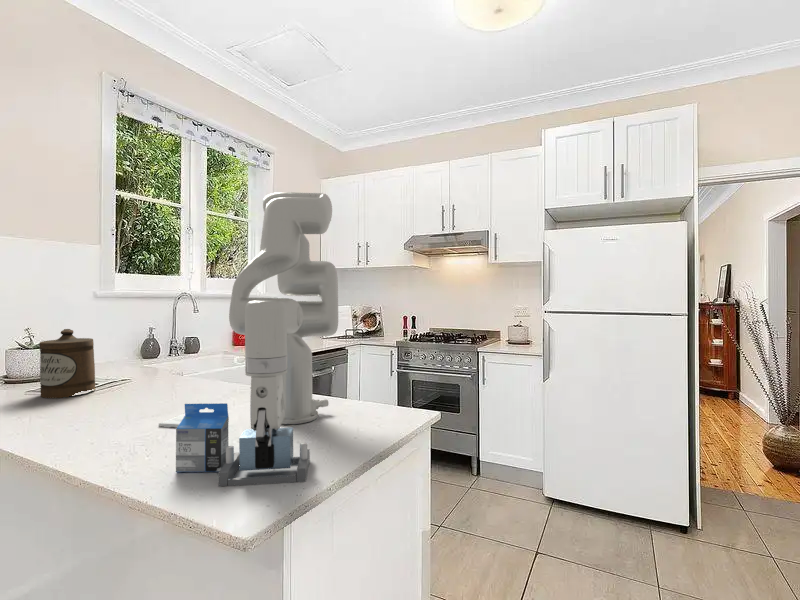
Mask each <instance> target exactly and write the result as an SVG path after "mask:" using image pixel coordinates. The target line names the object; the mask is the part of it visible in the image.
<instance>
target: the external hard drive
mask: <svg viewBox="0 0 800 600" xmlns="http://www.w3.org/2000/svg"><path fill="white" fill-rule="evenodd" d="M199 412H214V410H203V409H201V410H199ZM184 416H185V412H184V413H181V414H179V415H177V416H175V417H171V418H170V419H167V420H164V421H162V422H160V423H158V427H159V426H164V427H163V428H169V427H170V428H174V427H178V425H179V424H180V423H181V421H182V419H183V418H184Z"/></svg>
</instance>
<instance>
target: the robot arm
mask: <svg viewBox="0 0 800 600" xmlns="http://www.w3.org/2000/svg"><path fill="white" fill-rule="evenodd" d="M262 208H263V221H262V229H261V239H260V246H259V247H260V249H259V253H258V254H257V255H256V256H255V257H254V258H252V260H250V261H249V262H248V263H247V264H246V265H245V266H244V267H243V269H242V270H241V271H240V272H239V273H238V275H237V277H236V278H235V280H234V282H233V285H232V290H231V295H230V301H229V302H230V303H229V311H228V312H229V313H228V319H229V320H228V321H229V326H230V328H231V330H232V331H233V332H235V333H236V334H238V335H240V336H241V335H243V336H244V348H245V350H244V351H245V352H244V354H245V355H244V362H245V363H244V365H245V366H244V367H245V369H244V371H245V373H244V375H245V376H246V377H250V387H249V388H250V401H249V402H250V403H249V404H250V407H249V408H250V409H249V411H250V429H252V430H253V431H256V441H255V467H256V468H257V469H260V468H272V467H273V466H274V445H272V429H275V430H278V429H279V428H281V427H282V425H300V424H305V423H310V422H312V421H314V420H316V419H318V417H319V412H318V409H319V408H325V407H329V404H330V403H329V400H328V398H327V399H326V398H325V399H321V400H320V399H319V398H318V399H314V398H313V353H312V350H311V348H310V346H309V345H308V343H306V341H305V340H304V339H303V338H306V337H329V336H334V335H335V334H336V333H337V331H338V329H339V279H338V272H337V268H336V266H335V265H334V263H332V262H330V261H325V260H311V259H310V257H311V256H310V242H309V240H308V238H307V236H306V235H324V234H325V233H327V231H328V228H329V226H330V224H331V221H332V217H333V205H332V201H331V198H330V196H328V195H327V194H326V193H323V192H292V191H291V192H290V191H288V192H283V191H282V192H273V193H269V194H267V195H265V196H264V198H263V201H262ZM274 276H277V277H276V278H277V279H276V280H277V287H278V291H279V293H280V294H282V295H284V296H289V297H319V298H320V299H321V300H317V301H313V300H311V301H309V300H308V301H306V300H296V299H294V298H286V297H285V298H284V297H279V298H278V297H276V298H275V297H250V295H251V293H252V291H253V289H255V287H257V286H258V285H259V284H261V282H263V281H266V280H267V279H270V278H273V277H274ZM249 297H250V298H249ZM265 432H268V436H267V435H265Z"/></svg>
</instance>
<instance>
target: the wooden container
mask: <svg viewBox="0 0 800 600" xmlns="http://www.w3.org/2000/svg"><path fill="white" fill-rule="evenodd" d="M74 333H75V332H74V330H73V329H71V328H65V329H62V330H61V331H60V335H61V336H60V337H59V338H57V339H51V340H43V341H40V342H39V352H40V354H39V357H40V362H39V363H40V365H39V367H40V368H39V370H40V371H39V381H40V382H39V383H40V397H41V398H44V399H64V398H63V397H66V398H70V397H69V396H72V395H74V394H75V393H78V392H81V391H87V390H92V389H94V388H95V389H96V366H95V365H96V364H95V353H94V352H95V350H94V346H95V345H94V339H93V338H89V337H88V338H87V337H82V338H81V337H80V338H79V337H76V336H74V335H73V334H74Z"/></svg>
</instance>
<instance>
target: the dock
mask: <svg viewBox="0 0 800 600" xmlns="http://www.w3.org/2000/svg"><path fill="white" fill-rule="evenodd" d="M234 448H235V447H234V446H233V445H228V446H227V447H226V463H225V464H224V465H223V467H222V468H221V470H220V471H219V472H217V473H218V474H217V475H218V477H217V479H218V483H217V484H218V486H217V487H227V486H228V487H229V486H231V487H233V486H234V487H235V486H250V485H251V486H252V485H267V484H270V485H271V484H283V483H299V482H300V483H301V482H303V483H304V482H307V481H306V480H307V476H308V472H309V466H310V462H311V458H310V457H311V456H310V455H311V453H310V452H311V451H310V450H311V449H309V448H308V442H300V443H299V456H293V461H292V464H297V466H296V474H282V475H267V476H250V477H247V476H246V477H234V476H235V474H236V473H237V471H238V469H239V468H240V466H239V465H240V461H239V452H235V451H234V450H235V449H234ZM238 467H239V468H238ZM236 470H237V471H236ZM235 472H236V473H235ZM233 475H234V476H233Z"/></svg>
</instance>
